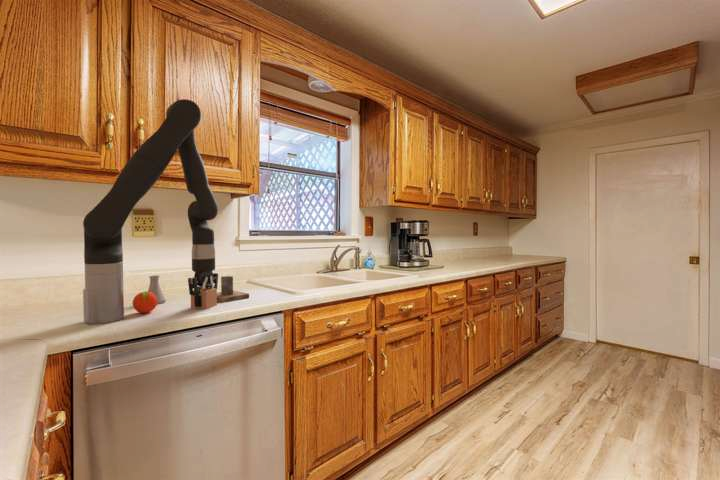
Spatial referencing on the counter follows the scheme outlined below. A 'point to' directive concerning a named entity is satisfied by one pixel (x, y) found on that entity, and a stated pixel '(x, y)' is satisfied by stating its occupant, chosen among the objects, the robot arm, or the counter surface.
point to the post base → (231, 297)
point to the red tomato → (144, 302)
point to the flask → (156, 289)
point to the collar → (206, 298)
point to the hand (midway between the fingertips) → (204, 304)
